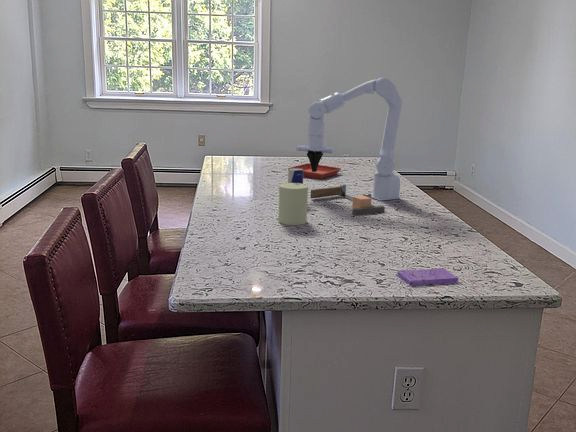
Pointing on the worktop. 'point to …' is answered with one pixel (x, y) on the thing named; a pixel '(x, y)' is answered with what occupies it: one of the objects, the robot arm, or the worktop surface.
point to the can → (293, 203)
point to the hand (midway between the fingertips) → (314, 171)
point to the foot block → (361, 202)
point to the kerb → (368, 210)
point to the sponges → (427, 276)
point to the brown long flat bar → (325, 192)
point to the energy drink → (295, 175)
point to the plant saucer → (320, 173)
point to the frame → (343, 194)
